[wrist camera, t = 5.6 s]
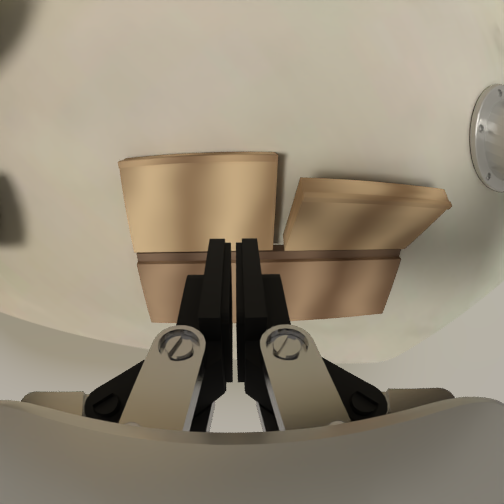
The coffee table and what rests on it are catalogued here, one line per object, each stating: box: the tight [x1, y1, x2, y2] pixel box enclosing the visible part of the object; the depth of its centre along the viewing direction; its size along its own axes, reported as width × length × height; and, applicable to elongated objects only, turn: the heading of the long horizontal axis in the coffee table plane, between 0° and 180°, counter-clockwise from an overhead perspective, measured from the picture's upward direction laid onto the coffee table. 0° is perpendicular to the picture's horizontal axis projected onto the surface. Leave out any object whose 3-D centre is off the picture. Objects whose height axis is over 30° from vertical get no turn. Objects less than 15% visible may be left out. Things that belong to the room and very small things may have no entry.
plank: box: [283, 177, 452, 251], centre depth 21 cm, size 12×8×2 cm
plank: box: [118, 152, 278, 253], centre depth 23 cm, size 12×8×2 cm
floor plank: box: [137, 245, 401, 323], centre depth 27 cm, size 25×8×2 cm, turn 89°
